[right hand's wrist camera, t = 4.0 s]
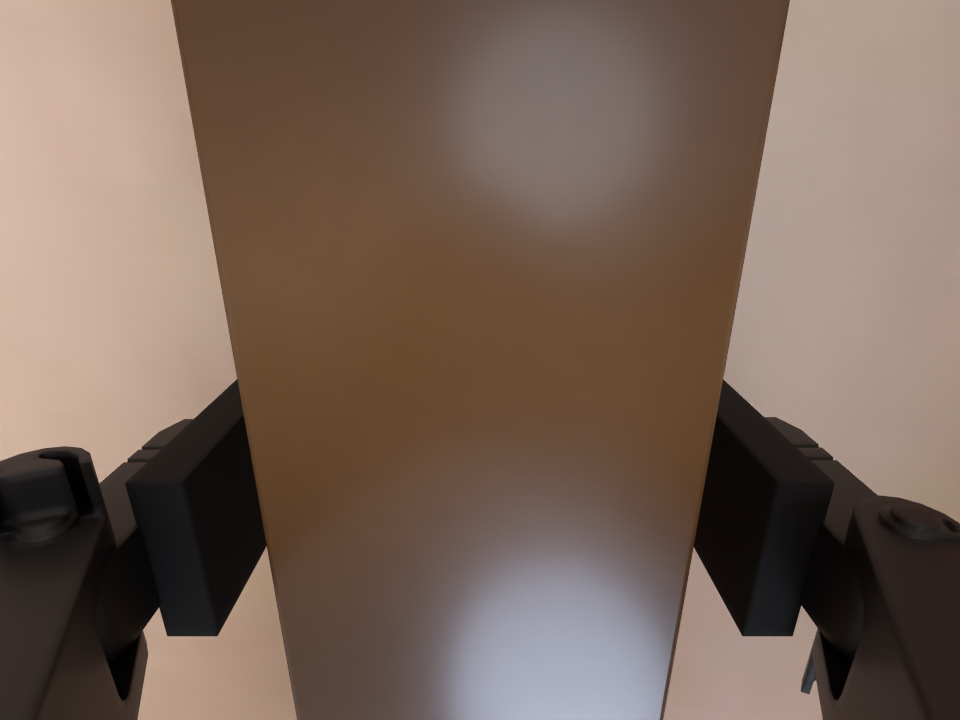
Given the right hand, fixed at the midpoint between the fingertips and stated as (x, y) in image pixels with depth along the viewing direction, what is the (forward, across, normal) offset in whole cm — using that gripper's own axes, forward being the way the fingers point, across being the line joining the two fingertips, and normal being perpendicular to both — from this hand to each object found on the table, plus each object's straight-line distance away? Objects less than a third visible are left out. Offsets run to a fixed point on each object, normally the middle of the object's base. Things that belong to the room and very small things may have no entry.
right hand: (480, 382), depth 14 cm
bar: (+1, 0, -7) cm, 7 cm away
